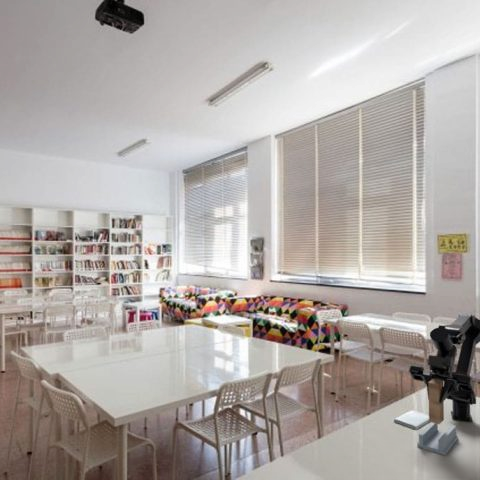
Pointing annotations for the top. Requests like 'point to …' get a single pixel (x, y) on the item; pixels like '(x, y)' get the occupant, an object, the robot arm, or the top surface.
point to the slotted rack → (437, 438)
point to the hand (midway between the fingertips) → (434, 401)
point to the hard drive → (413, 419)
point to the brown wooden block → (435, 401)
